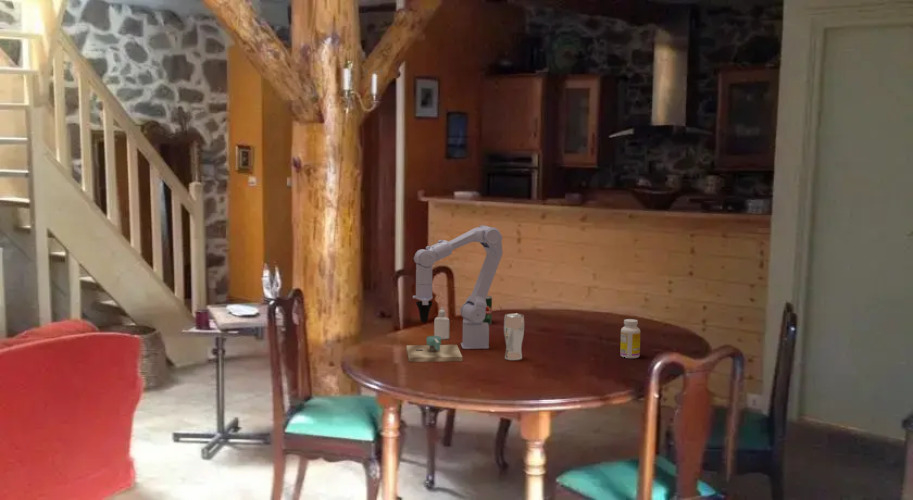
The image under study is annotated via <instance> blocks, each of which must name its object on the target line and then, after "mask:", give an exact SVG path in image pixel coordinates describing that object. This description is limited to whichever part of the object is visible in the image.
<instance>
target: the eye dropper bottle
mask: <svg viewBox="0 0 913 500" xmlns="http://www.w3.org/2000/svg"><path fill="white" fill-rule="evenodd" d="M433 322H434V323H433V325H434V326H433V327H434V328H433V333H434V334H433V336H440V337H441V340H449V339H450V319H449V317H448V316H446V310H444V307H443V306H441V307H440V309H439V310H438V316H436V317H434V321H433Z"/></svg>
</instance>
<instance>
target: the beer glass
mask: <svg viewBox="0 0 913 500" xmlns="http://www.w3.org/2000/svg"><path fill="white" fill-rule="evenodd" d="M503 318H504V320H503V335H504V342H505V353H504V359H505V360H506V361H507V360H508V361H521V360H522V359H523V354H522V353H523V352H522V345H523V340H524V335H525V333H524V332H525V315H524V314H522V313H505V314H504V317H503Z"/></svg>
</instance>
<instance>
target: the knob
mask: <svg viewBox="0 0 913 500" xmlns="http://www.w3.org/2000/svg"><path fill="white" fill-rule="evenodd" d="M426 345H428V346H434V347H435V349H436V350H440V345H442V339H441V337H440V336H434V335H429V336H426Z"/></svg>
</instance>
